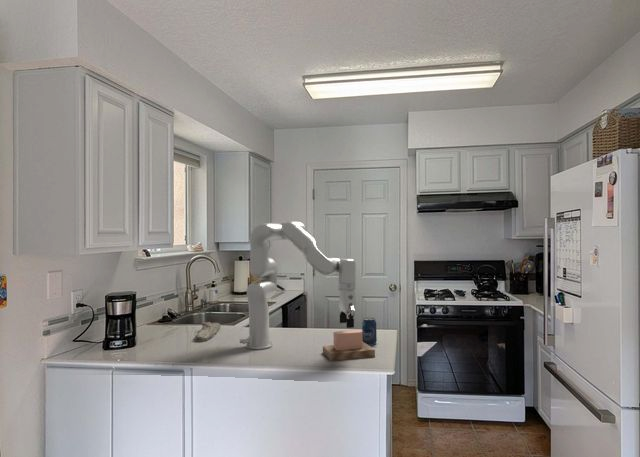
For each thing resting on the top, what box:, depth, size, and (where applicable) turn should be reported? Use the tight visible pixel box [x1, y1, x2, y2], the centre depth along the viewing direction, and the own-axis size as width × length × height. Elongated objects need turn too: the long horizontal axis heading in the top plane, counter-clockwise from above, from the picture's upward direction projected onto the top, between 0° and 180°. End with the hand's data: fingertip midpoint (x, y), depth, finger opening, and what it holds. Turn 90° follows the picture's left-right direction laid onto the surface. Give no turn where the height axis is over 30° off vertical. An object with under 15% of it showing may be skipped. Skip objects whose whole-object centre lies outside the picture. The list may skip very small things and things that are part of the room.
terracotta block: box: [333, 329, 363, 350], centre depth 193 cm, size 4×12×7 cm, turn 105°
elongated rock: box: [195, 321, 221, 343], centre depth 237 cm, size 35×5×10 cm
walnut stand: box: [322, 343, 376, 362], centre depth 193 cm, size 20×13×3 cm, turn 105°
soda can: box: [361, 317, 378, 346], centre depth 211 cm, size 7×7×12 cm
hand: (346, 325), depth 193 cm, fingers open, 9 cm apart
